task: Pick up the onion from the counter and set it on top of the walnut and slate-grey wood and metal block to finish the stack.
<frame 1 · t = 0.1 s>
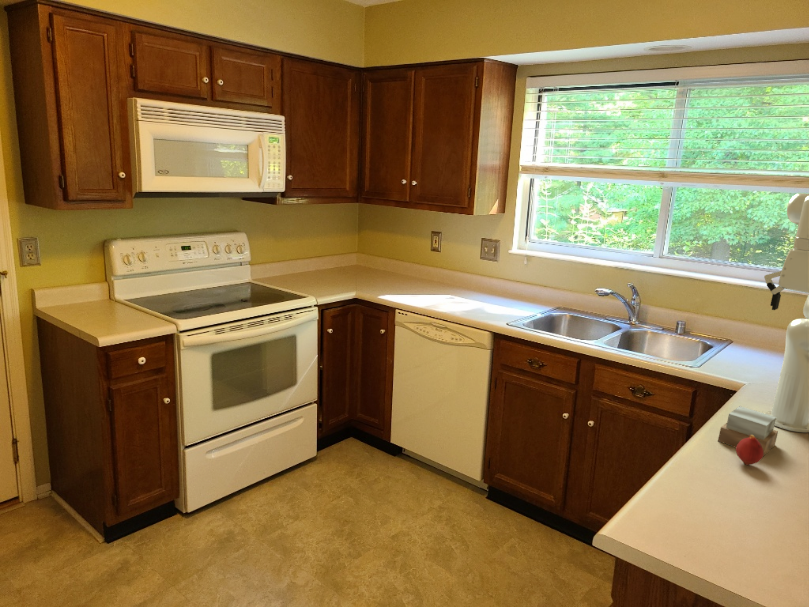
hand: (796, 313, 153), 37 cm above the worktop, tool pointing down, fingers open, 9 cm apart
wood and metal block: (746, 443, 163), on the worktop
onion: (746, 465, 150), on the worktop
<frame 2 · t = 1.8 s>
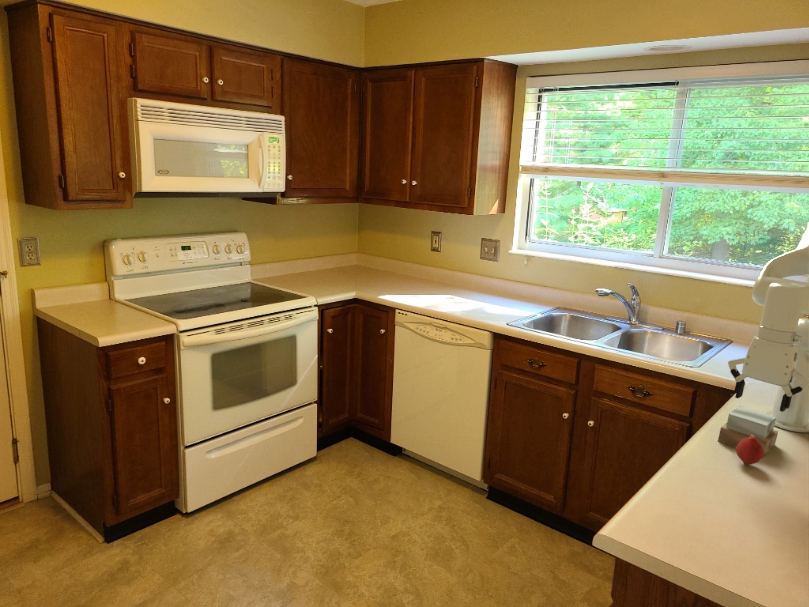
hand: (760, 403, 146), 16 cm above the worktop, tool pointing down, fingers open, 9 cm apart
nothing on the worktop moved.
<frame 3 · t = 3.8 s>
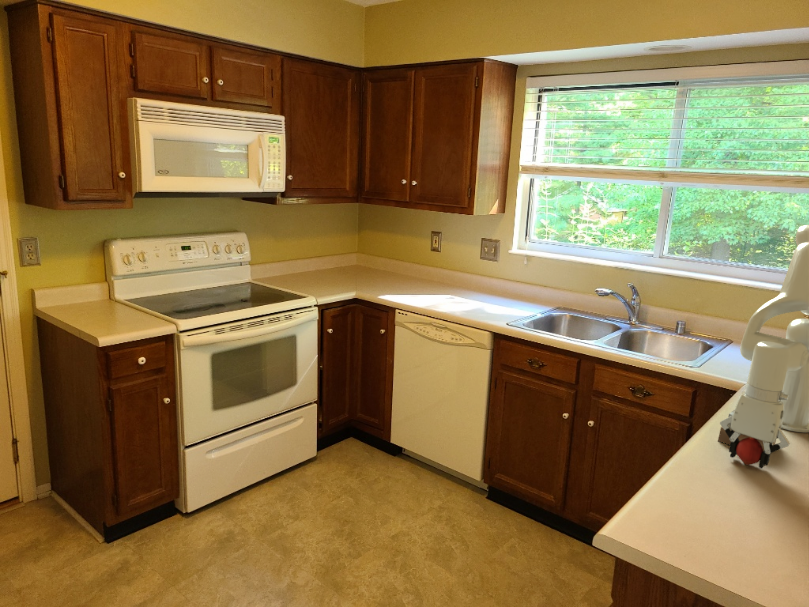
hand: (747, 460, 150), 1 cm above the worktop, tool pointing down, fingers closed on onion, 5 cm apart
onion: (746, 465, 150), on the worktop, touching gripper
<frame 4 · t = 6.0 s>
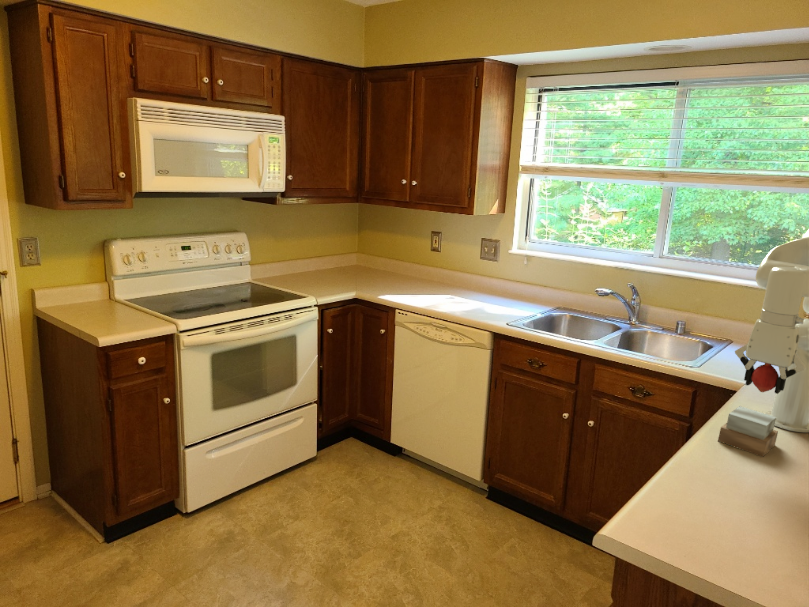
hand: (762, 387, 151), 19 cm above the worktop, tool pointing down, fingers closed on onion, 5 cm apart
onion: (761, 392, 151), point 17 cm above the worktop, touching gripper
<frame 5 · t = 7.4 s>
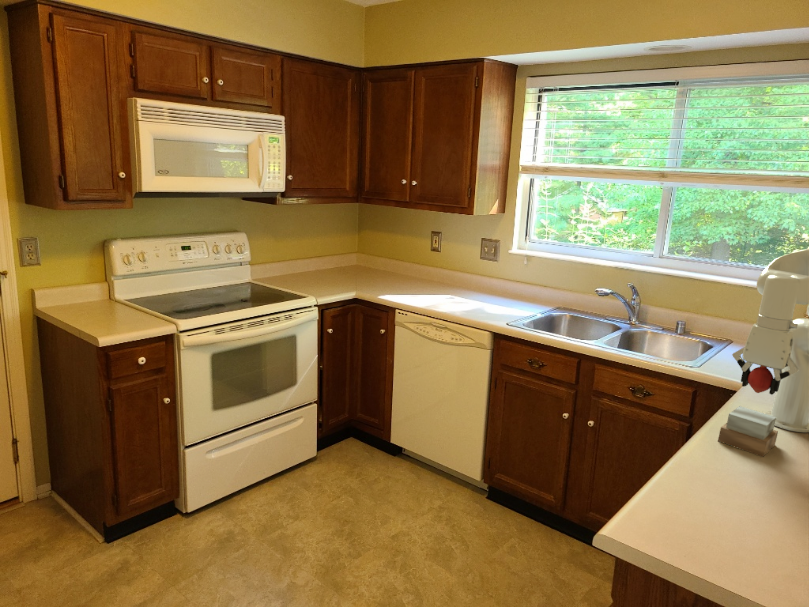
hand: (758, 388, 159), 16 cm above the worktop, tool pointing down, fingers closed on onion, 5 cm apart
onion: (757, 393, 159), point 14 cm above the worktop, touching gripper
when the fingers open (11 cm above the worktop, at t = 8.7 s): onion drops 1 cm, resting on wood and metal block.
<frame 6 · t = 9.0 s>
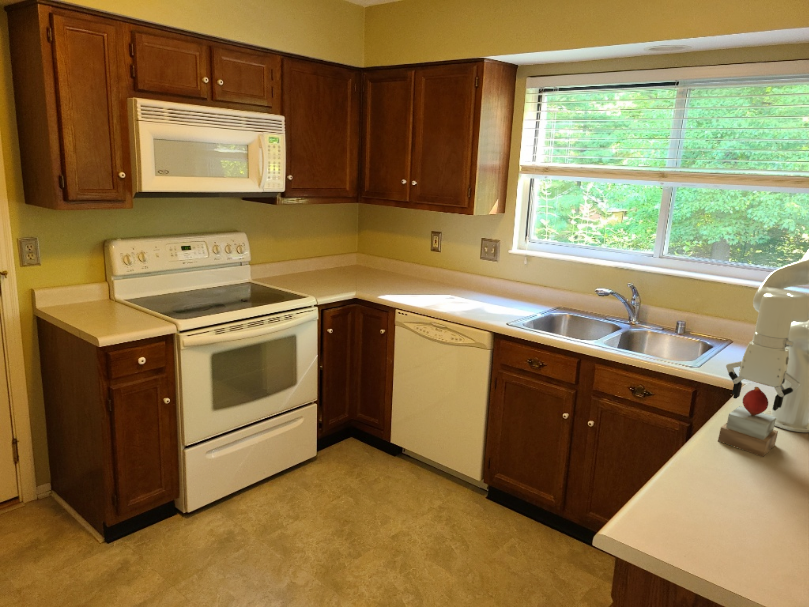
hand: (755, 403, 160), 12 cm above the worktop, tool pointing down, fingers open, 9 cm apart
onion: (753, 415, 161), point 8 cm above the worktop, touching wood and metal block
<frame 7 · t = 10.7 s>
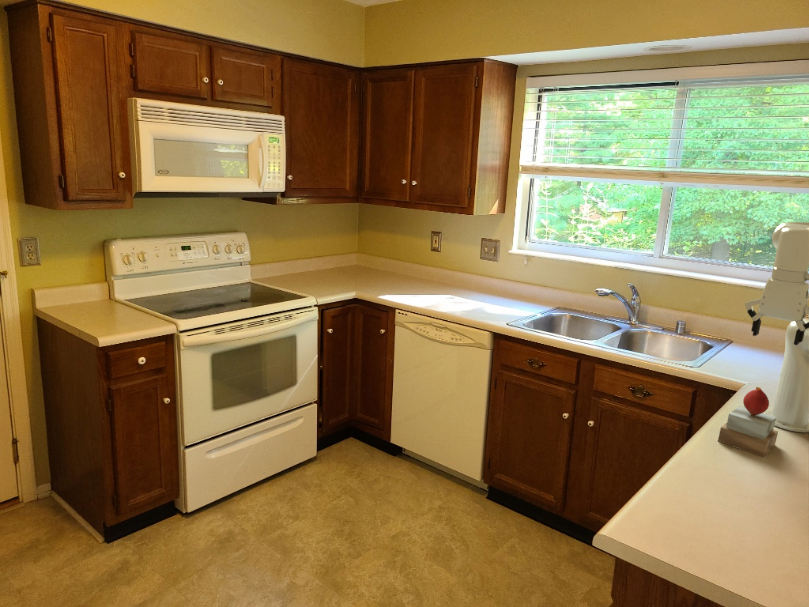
hand: (775, 339, 160), 28 cm above the worktop, tool pointing down, fingers open, 9 cm apart
nothing on the worktop moved.
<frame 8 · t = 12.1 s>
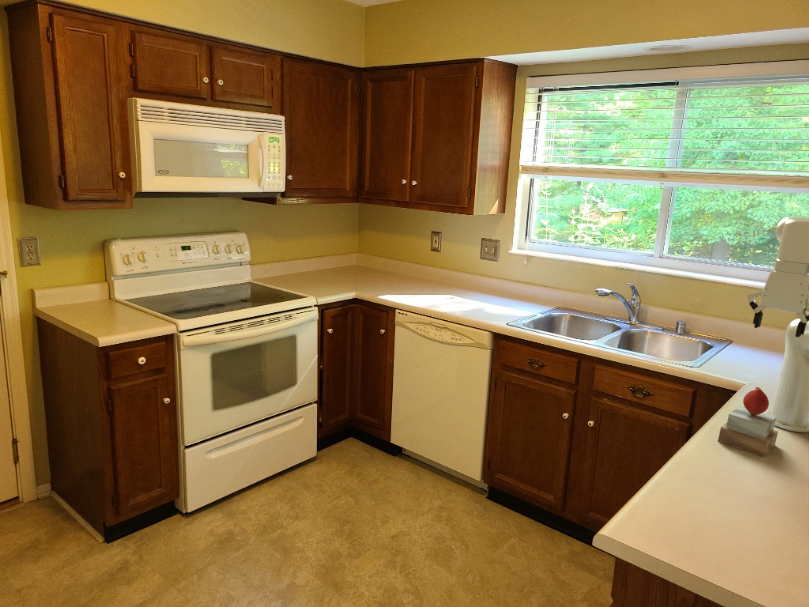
hand: (777, 331, 160), 30 cm above the worktop, tool pointing down, fingers open, 9 cm apart
nothing on the worktop moved.
at the end: onion inside the target area on the wood and metal block (0.2 cm from its centre), point 7.8 cm above the wood and metal block's base; the gripper is holding nothing; onion touching wood and metal block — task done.
